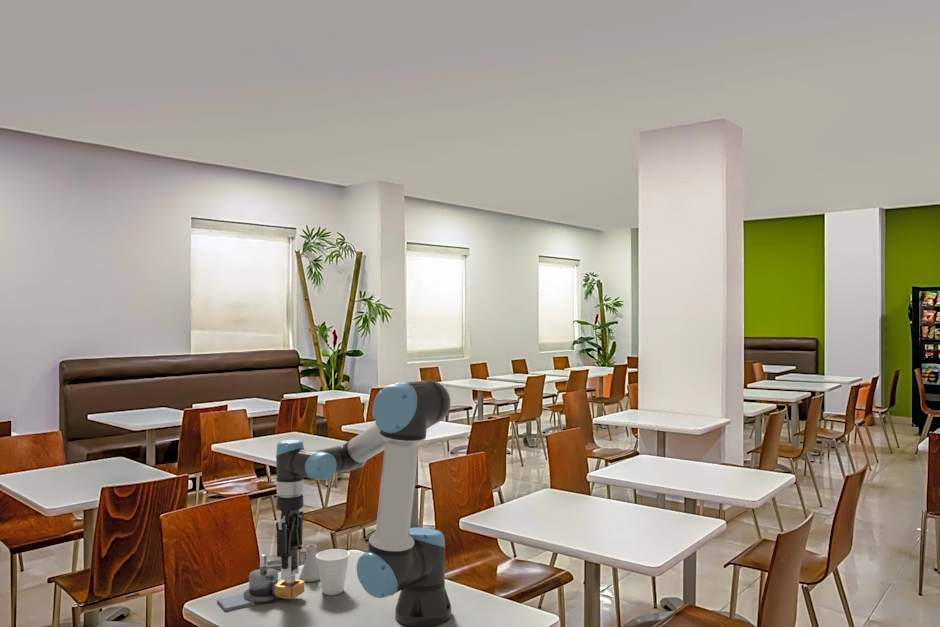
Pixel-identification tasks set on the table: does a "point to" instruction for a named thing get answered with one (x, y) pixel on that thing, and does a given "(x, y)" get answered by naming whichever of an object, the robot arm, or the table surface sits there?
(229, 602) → the key mat
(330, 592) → the cup
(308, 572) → the flask
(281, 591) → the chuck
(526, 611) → the table surface
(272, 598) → the dark grey disc
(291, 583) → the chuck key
